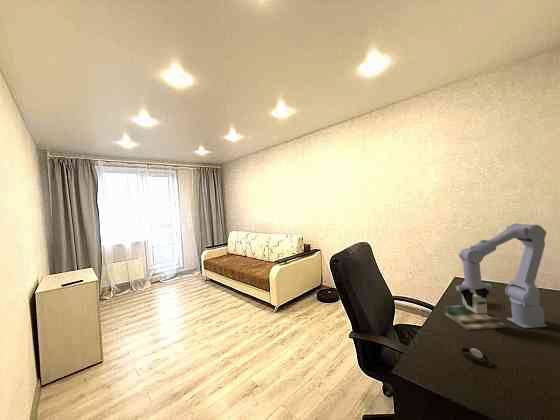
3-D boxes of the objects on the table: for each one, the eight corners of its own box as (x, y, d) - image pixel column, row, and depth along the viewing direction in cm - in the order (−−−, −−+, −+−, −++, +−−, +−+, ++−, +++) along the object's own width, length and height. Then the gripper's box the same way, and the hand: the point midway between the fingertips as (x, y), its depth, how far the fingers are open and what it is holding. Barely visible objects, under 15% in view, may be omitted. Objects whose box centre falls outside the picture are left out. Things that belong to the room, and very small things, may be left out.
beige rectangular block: (475, 306, 103) (474, 293, 103) (488, 313, 96) (487, 299, 96) (465, 307, 103) (464, 294, 103) (477, 313, 96) (476, 300, 96)
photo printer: (468, 299, 125) (466, 277, 125) (478, 301, 121) (475, 279, 121) (461, 305, 119) (459, 282, 119) (471, 307, 116) (469, 284, 116)
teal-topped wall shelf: (478, 312, 110) (477, 303, 110) (505, 327, 96) (504, 316, 96) (445, 314, 111) (444, 305, 111) (468, 329, 97) (467, 319, 97)
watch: (491, 363, 77) (490, 352, 77) (487, 369, 75) (486, 358, 75) (464, 352, 84) (463, 342, 84) (459, 357, 81) (458, 347, 81)
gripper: (480, 271, 104) (483, 300, 104) (449, 274, 104) (452, 302, 104) (495, 276, 97) (498, 306, 97) (461, 278, 97) (464, 309, 97)
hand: (475, 305), depth 100 cm, fingers closed on beige rectangular block, 4 cm apart
